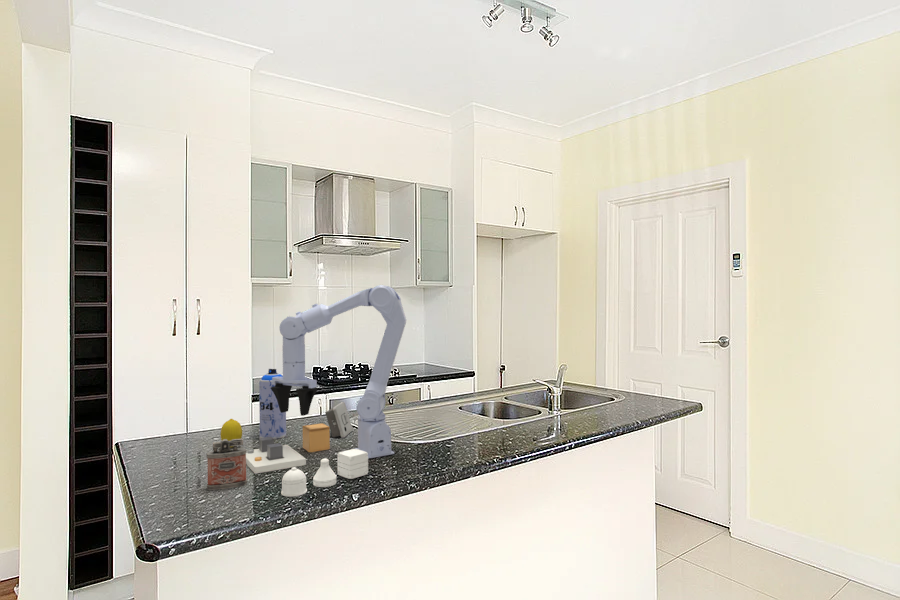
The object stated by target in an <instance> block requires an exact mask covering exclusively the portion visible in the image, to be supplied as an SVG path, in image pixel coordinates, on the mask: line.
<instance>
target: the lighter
mask: <svg viewBox="0 0 900 600" xmlns="http://www.w3.org/2000/svg"><path fill="white" fill-rule="evenodd" d="M243 445H244V439H243V438H241V439H233V440H232V441H228V440H227V439H223V440H220V441H214V442H212V451H209V452H207V453H206V459H207V483H206V489H207V490H209V491H212V490H224V489H231V488H237V487H243V486H246V485H247V484H248V479H247V464H246V453H247V450H248V449H247V448H245V447H243V448H241V447H240V448H238V446H243ZM230 446H234V447H233V448H231V447H230ZM218 448H219V449H218Z"/></svg>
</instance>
